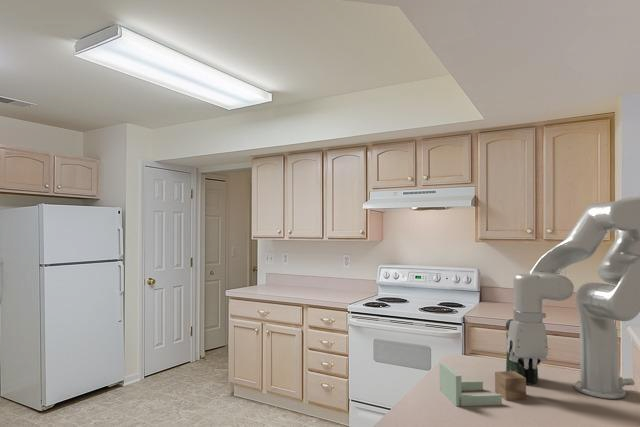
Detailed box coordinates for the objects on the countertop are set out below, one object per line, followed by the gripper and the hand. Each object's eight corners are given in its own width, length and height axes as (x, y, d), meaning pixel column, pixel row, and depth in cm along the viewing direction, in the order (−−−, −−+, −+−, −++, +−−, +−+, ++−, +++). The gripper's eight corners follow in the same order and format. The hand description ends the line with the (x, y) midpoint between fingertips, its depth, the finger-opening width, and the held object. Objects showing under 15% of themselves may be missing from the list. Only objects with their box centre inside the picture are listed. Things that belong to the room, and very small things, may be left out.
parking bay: (481, 388, 132) (481, 361, 132) (501, 404, 120) (501, 374, 120) (439, 390, 131) (439, 362, 131) (456, 406, 119) (456, 375, 119)
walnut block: (514, 392, 130) (514, 371, 130) (526, 399, 124) (525, 378, 124) (495, 392, 129) (494, 371, 129) (505, 400, 123) (505, 378, 123)
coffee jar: (542, 384, 136) (541, 323, 137) (518, 385, 135) (517, 323, 136) (525, 374, 146) (524, 317, 146) (502, 374, 145) (501, 317, 146)
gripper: (544, 314, 132) (544, 377, 132) (496, 314, 131) (496, 378, 130) (560, 319, 125) (560, 385, 124) (509, 320, 123) (510, 386, 123)
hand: (528, 381), depth 127 cm, fingers closed
